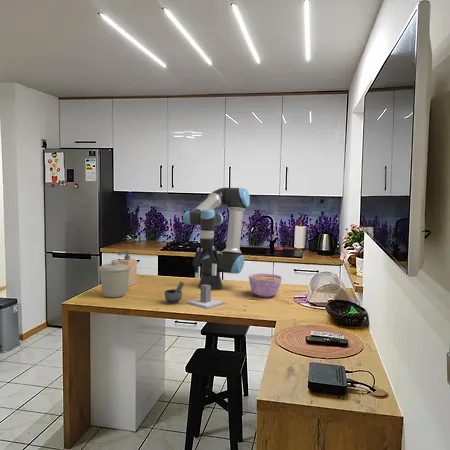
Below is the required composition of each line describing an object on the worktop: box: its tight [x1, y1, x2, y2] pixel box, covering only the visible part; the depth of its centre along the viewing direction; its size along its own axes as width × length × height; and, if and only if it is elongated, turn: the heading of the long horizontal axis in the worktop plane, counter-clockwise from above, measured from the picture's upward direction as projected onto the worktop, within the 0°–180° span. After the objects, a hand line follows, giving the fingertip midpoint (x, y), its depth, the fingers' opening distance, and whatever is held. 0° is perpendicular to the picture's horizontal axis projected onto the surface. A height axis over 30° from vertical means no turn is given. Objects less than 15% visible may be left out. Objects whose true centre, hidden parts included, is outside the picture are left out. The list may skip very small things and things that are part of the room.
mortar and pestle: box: [164, 281, 185, 305], centre depth 245 cm, size 11×9×12 cm
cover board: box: [188, 284, 223, 308], centre depth 245 cm, size 13×13×10 cm
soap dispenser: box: [117, 250, 138, 288], centre depth 285 cm, size 13×9×22 cm
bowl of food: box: [248, 273, 283, 298], centre depth 268 cm, size 20×20×12 cm
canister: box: [97, 259, 131, 299], centre depth 258 cm, size 18×18×21 cm
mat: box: [185, 301, 227, 310], centre depth 246 cm, size 16×16×1 cm
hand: (205, 276), depth 244 cm, fingers open, 13 cm apart
